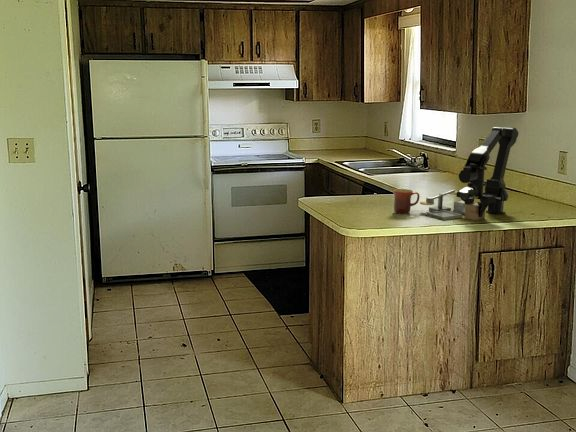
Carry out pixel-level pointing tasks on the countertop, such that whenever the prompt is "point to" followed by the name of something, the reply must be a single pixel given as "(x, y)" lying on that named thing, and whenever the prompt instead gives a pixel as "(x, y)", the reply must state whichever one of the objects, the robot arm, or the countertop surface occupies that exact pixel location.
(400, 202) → the mug
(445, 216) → the slate dish
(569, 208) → the countertop surface
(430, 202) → the balance
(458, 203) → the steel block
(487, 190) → the robot arm
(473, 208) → the walnut block
